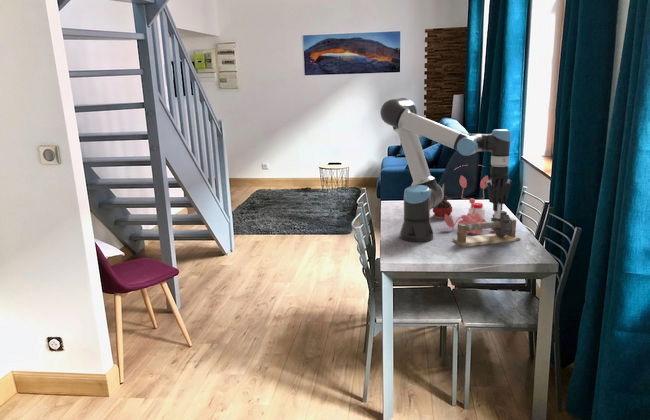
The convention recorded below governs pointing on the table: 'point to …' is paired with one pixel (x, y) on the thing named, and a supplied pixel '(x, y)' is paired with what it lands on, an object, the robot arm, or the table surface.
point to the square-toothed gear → (503, 224)
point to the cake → (442, 207)
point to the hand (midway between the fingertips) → (497, 217)
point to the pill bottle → (478, 209)
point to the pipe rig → (484, 239)
